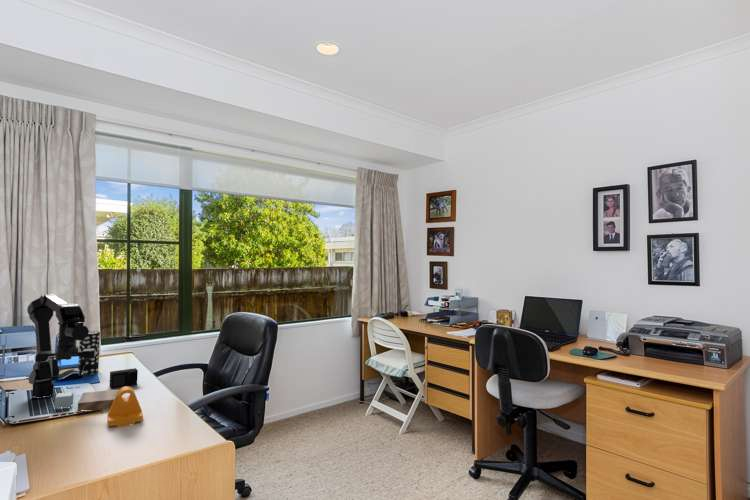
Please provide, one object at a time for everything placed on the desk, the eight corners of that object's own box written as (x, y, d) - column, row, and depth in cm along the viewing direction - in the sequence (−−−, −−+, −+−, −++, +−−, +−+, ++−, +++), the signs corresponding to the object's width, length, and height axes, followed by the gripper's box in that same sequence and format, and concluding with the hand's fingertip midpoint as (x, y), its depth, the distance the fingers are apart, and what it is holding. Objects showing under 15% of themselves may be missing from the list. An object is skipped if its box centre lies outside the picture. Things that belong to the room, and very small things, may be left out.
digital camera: (111, 390, 187) (112, 374, 188) (109, 386, 191) (109, 371, 192) (137, 385, 194) (138, 370, 194) (134, 382, 198) (135, 367, 199)
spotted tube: (101, 372, 212) (103, 332, 212) (82, 376, 205) (84, 335, 205) (93, 369, 217) (95, 330, 217) (74, 373, 210) (76, 332, 210)
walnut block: (77, 413, 160) (77, 403, 161) (82, 402, 172) (83, 392, 172) (117, 409, 166) (117, 399, 167) (119, 398, 178) (120, 389, 178)
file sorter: (98, 365, 226) (99, 336, 226) (57, 370, 214) (59, 339, 215) (90, 355, 245) (91, 329, 245) (52, 359, 233) (53, 331, 233)
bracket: (107, 428, 147) (109, 394, 148) (107, 421, 153) (108, 388, 154) (142, 422, 153) (144, 389, 154) (140, 416, 159) (142, 384, 160)
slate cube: (54, 410, 162) (55, 397, 162) (57, 406, 167) (58, 393, 167) (70, 408, 164) (71, 395, 165) (72, 404, 169) (73, 391, 169)
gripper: (32, 342, 155) (30, 385, 154) (93, 339, 163) (91, 380, 163) (39, 336, 164) (37, 377, 164) (96, 334, 173) (95, 372, 173)
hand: (65, 376), depth 166 cm, fingers open, 9 cm apart
